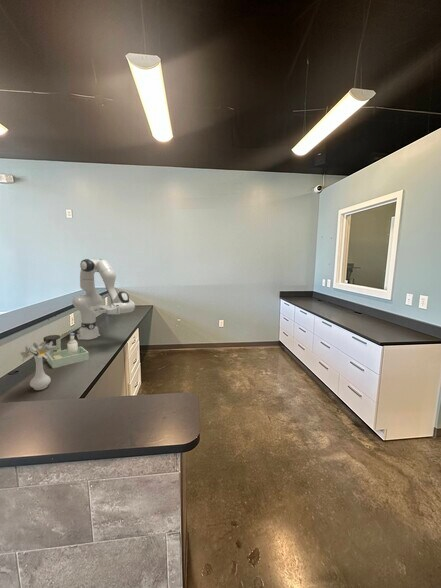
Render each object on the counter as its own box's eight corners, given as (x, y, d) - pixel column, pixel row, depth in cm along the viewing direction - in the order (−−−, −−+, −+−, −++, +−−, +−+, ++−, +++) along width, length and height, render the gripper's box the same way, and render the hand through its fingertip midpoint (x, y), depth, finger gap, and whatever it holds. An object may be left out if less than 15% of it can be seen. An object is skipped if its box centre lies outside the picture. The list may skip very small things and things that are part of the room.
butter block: (53, 361, 169) (53, 356, 168) (60, 360, 172) (59, 354, 171) (56, 365, 164) (55, 359, 164) (63, 363, 167) (62, 357, 166)
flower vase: (61, 378, 147) (59, 337, 144) (44, 395, 129) (41, 349, 126) (37, 379, 145) (34, 338, 142) (16, 396, 127) (12, 349, 124)
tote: (47, 362, 170) (46, 353, 169) (81, 354, 185) (81, 346, 185) (52, 369, 159) (52, 360, 158) (88, 360, 175) (88, 352, 174)
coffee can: (49, 359, 174) (48, 340, 172) (41, 356, 179) (40, 337, 177) (64, 354, 183) (63, 336, 181) (56, 352, 188) (55, 334, 186)
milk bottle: (67, 358, 174) (65, 333, 172) (76, 356, 179) (75, 331, 176) (69, 361, 170) (68, 335, 168) (79, 359, 174) (78, 333, 172)
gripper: (109, 302, 205) (91, 304, 195) (120, 306, 191) (101, 308, 181) (109, 310, 205) (91, 312, 195) (120, 314, 191) (102, 317, 181)
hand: (96, 310), depth 188 cm, fingers open, 8 cm apart
